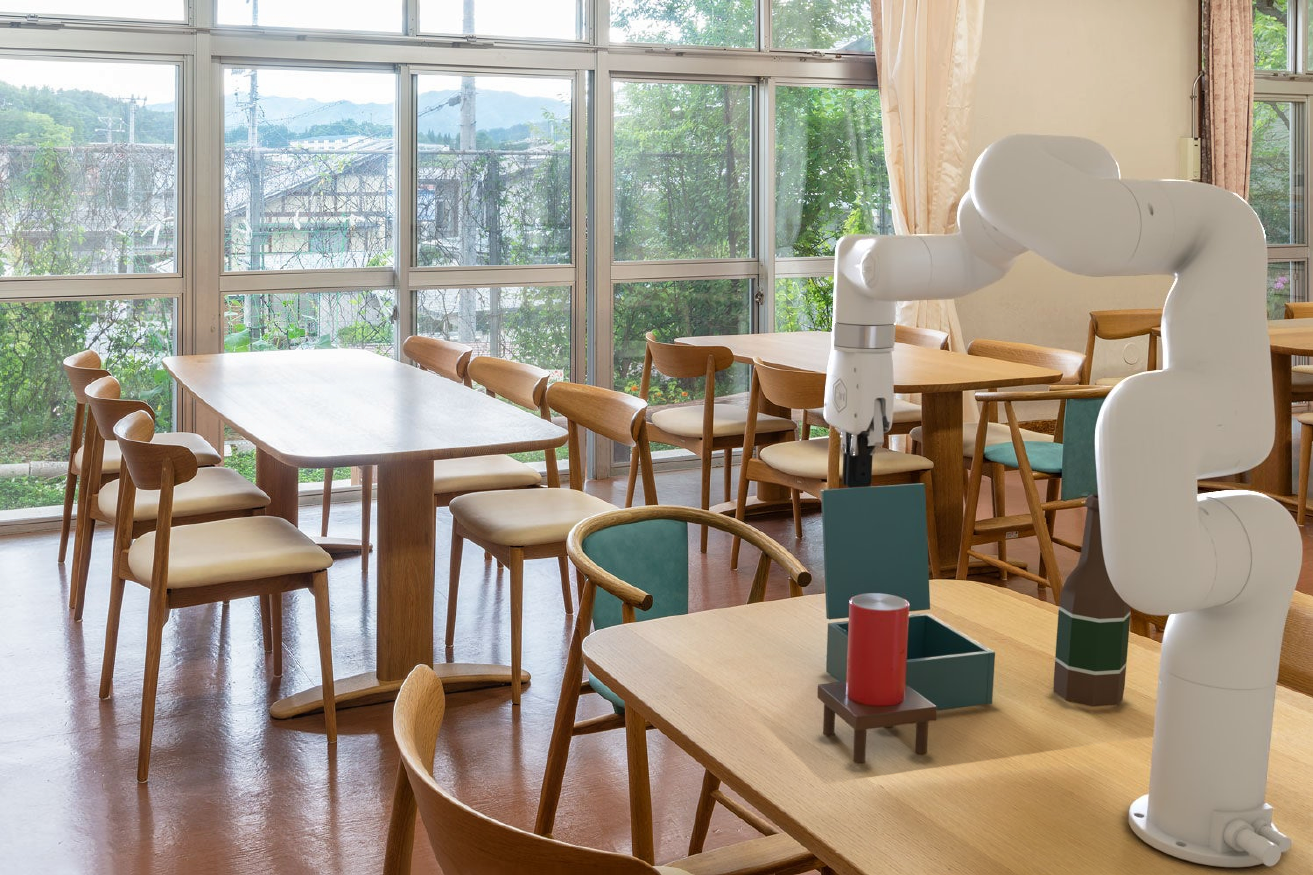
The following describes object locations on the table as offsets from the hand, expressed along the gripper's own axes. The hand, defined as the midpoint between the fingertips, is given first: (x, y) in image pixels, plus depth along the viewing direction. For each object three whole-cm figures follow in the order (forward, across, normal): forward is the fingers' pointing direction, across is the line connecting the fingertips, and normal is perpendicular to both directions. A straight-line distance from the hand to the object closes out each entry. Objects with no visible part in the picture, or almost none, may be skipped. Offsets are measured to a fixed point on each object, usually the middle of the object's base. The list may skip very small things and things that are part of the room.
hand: (856, 485), depth 157 cm
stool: (+21, +28, -11) cm, 37 cm away
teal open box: (+22, +15, 0) cm, 26 cm away
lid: (+7, +6, 0) cm, 9 cm away
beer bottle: (+22, +22, +19) cm, 37 cm away
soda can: (+15, +27, -11) cm, 33 cm away
